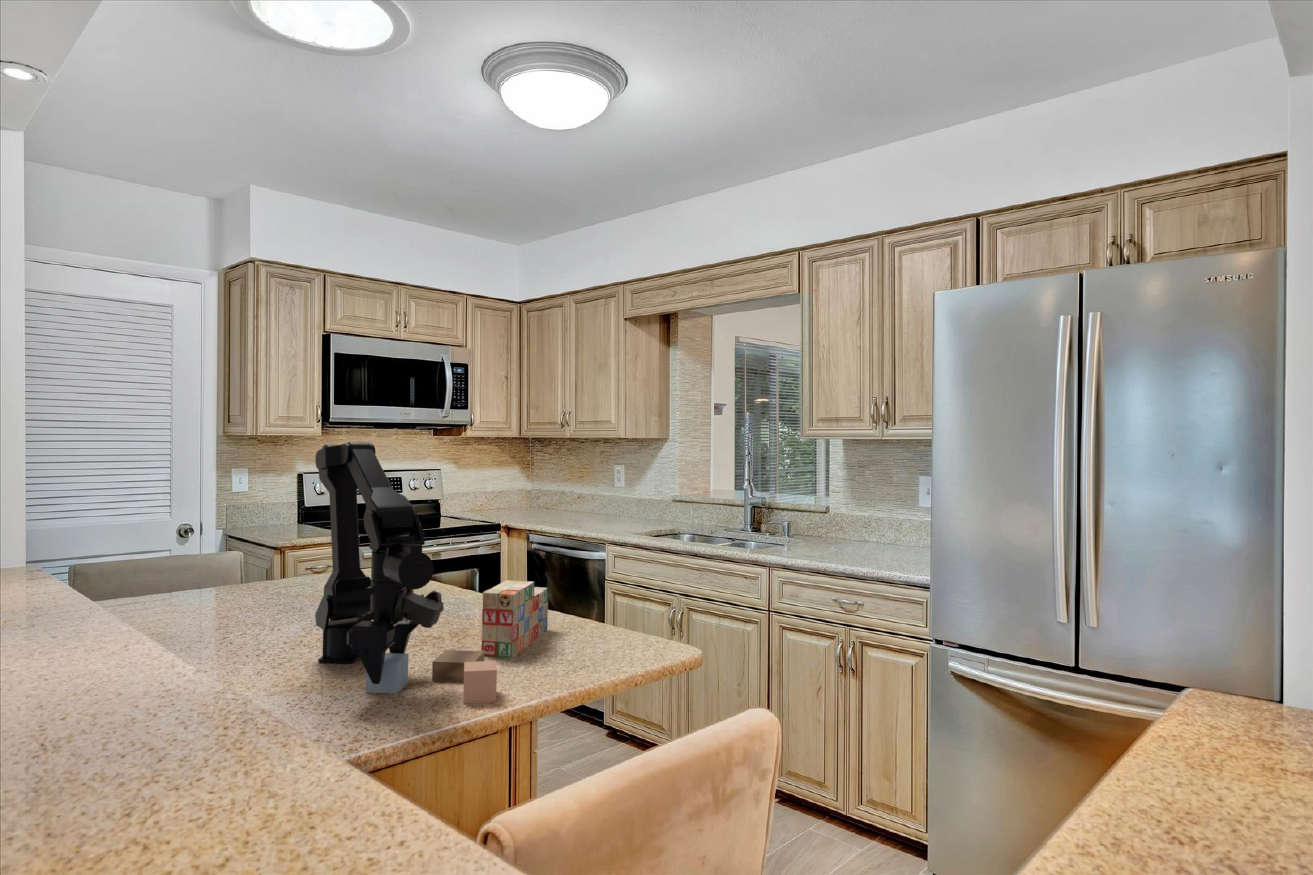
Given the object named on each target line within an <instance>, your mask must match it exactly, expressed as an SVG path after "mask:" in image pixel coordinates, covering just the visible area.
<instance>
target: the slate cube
mask: <svg viewBox="0 0 1313 875" xmlns="http://www.w3.org/2000/svg"><path fill="white" fill-rule="evenodd" d="M365 671H366V670H365ZM365 679H366V680H365V693H371V694H373V693H375V694H376V693H378V694H398V693H399V692H401V690H402V689H403V688H404V687H405V686H406V685H408V683H409V653H405V654H400V653H390V652H385V658H384V665H383V671H382V676H381V681H380V683H379V684H373V683H372V681H371V679H370V677H369V675H368V673H367V671H366V676H365Z"/></svg>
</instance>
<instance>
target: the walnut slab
mask: <svg viewBox="0 0 1313 875" xmlns="http://www.w3.org/2000/svg"><path fill="white" fill-rule="evenodd" d="M478 661H485V656H484V651H482V650H461V649H460V650H456V649H455V650H454V649H452V650H451V649H446V650H444V651H443V652H442V653H440V654H439V656H437V657H436V658H435V659H434V660H433V661H432V664H431V665H432V670H431V671H432V672H431V673H432V674H431V681H433V682H434V681H435V682H436V681H437V682H457V683H458V682H461V683H462V682H463V683H464V662H478Z"/></svg>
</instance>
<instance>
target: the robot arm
mask: <svg viewBox="0 0 1313 875" xmlns="http://www.w3.org/2000/svg"><path fill="white" fill-rule="evenodd" d="M314 462H315V468H316V469H317V470H318V478H319V481H320V482H321V483H322V485H323V487H324V488H325V489H326V490H327V492H328V494H329V510H330V511H329V512H330V514H329V516H330V533H331V534H330V536H331V537H330V538H331V559H332V560H331V561H332V562H331V563H332V571H331V574H330V575H329V578H328V579H327V581H326V583H325V584H324V586H323V596H322V598H321V599H320V602H319V605H318V606H317V609H316V611H315V614H314V618H315V625H316V627H317V628H320V629H321V630H322V656H321V657H319V658H318V660H317V661H318V663H339V664H341V663H342V664H343V663H344V664H346V663H347V664H348V663H349V664H353V663H355V662H357V660H360V661H361V664H362V665H363V668H364V669H365V671H367V673H368V675H369V677H370V679H371V681H372V683H373V684H379V683H380V681H381V676H382V671H383V665H384V658H385V653H387V650H389V653H400V654H406V650H407V646H408V643H409V640H410V637H411V634H412V632H413V631H414V630H416V629H417V627H419V626H421V627H423V628H426V629H430V628H432V627H433V626H434V625H435V624H437V623H438V621H439V618H440V616H441V613H442V612H443V611H444V609H445V607H444V604H445V603H444V602H443V601H442V593H441V592H439V591H436V590H432V591H430V592H429V593H428V594H427V595H426V596H425V594H423V593H422V594H418V593H414V590H419V589H422V588H423V587H425V586H427V585H428V584H429V583H430V581H431V580H432V578H433V577H434V576H433V575H434V571H435V565H434V564H433V560H432V558H431V557H430V556H428V554H426V553H425V552H423V546H424V545H425V544H426V542H425V535H426V534H425V532H424V529H423V527H422V525H421V524H422V523H421V521H420V520H419V519H420V518H419V517H418V514H417V511H416V509H415V508H414V506H413V505H412V504H411V502H410V501H409V500H408V498H407V497H406V496H405V495H403V494H401V493H399V492H398V491H395V490H394V488H393V487H392V485H391V483H390V481H389V479H388V477H387V475H386V473H385V471H384V468H383V467H382V465H381V463H380V461H379V459H378V457H377V455H376V447H375V445H374V444H373V443H370V442H368V441H364V442H363V441H348V442H346V443H342V444H324V445H322V447H321V449H318V450H317V451H316V454H315V460H314ZM357 490H359V491H357ZM357 492H359V493H360V495H361V497H362V500H363V501H364V504H365V507H366V508H365V511H364V515H363V526H364V527H363V528H364V530H365V532H366V535H367V537H368V539H369V542H370V544H369V545H368V548H369V549H370V550H371V568H370V569H371V571H370V572H371V574H370V575H371V576H367V575H366V574H365V573H364V571H363V569H361V556H360V554H361V553H360V537H359V536H360V535H359V533H360V530H359V514H358V493H357Z"/></svg>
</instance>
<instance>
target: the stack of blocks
mask: <svg viewBox="0 0 1313 875" xmlns="http://www.w3.org/2000/svg"><path fill="white" fill-rule="evenodd" d="M548 592H549V591H548V587H540V586H535V581H531V580H530V581H528V580H527V581H525V580H522V581H521V580H508V579H507V580H504V581H503V582H500V583H499V584H497V585H495V586H493V587H492V588H489V589H487V590H485V591H483V592H482V613H481V614H482V615H481V616H482V617H481V619H482V620H481V623H482V626H481V627H482V631H481V632H482V633H481V634H482V635H481V651H484V657H495V658H496V657H499V658H509V659H512V658H514V657H515V656H517V654H520V653H521V652H522V651H523V650H525V649H526V648H527V647H528V646H529V645H530V644H532V643H533V642H534V641H535V640H536V639H538V638H539V637H540V636H542V635H543V634H544V633H545V632H547V630H548V620H549V619H548V617H549V616H548V615H549V601H548V598H549V597H548Z"/></svg>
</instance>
